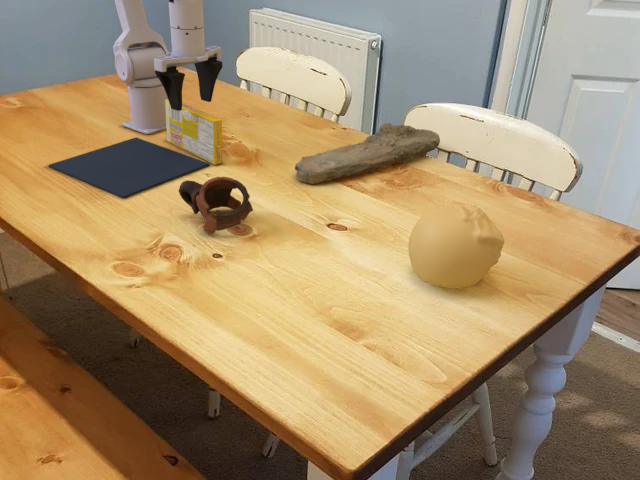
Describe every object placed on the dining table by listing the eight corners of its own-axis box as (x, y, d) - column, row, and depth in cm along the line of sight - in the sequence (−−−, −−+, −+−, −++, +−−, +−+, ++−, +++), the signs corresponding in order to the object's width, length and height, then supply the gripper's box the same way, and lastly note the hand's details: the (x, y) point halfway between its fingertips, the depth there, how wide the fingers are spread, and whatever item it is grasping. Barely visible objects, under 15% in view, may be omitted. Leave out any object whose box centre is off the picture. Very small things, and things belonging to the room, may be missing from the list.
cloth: (136, 139, 136) (136, 137, 136) (209, 165, 126) (209, 163, 126) (48, 167, 122) (48, 164, 122) (123, 198, 113) (123, 196, 113)
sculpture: (506, 293, 94) (522, 221, 88) (425, 303, 90) (436, 229, 84) (467, 253, 103) (480, 185, 97) (393, 261, 100) (401, 191, 93)
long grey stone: (281, 179, 126) (315, 200, 120) (281, 152, 123) (316, 173, 117) (415, 135, 144) (450, 151, 138) (418, 110, 141) (454, 126, 135)
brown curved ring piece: (258, 213, 112) (263, 182, 104) (236, 259, 107) (240, 230, 100) (188, 186, 112) (188, 154, 104) (164, 231, 107) (162, 200, 100)
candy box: (224, 163, 128) (222, 119, 123) (214, 166, 126) (212, 121, 122) (175, 139, 137) (172, 97, 133) (166, 141, 136) (162, 99, 131)
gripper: (172, 36, 112) (177, 118, 120) (232, 24, 122) (234, 101, 130) (142, 29, 116) (150, 109, 123) (204, 18, 126) (207, 93, 133)
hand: (191, 105), depth 127 cm, fingers open, 7 cm apart
